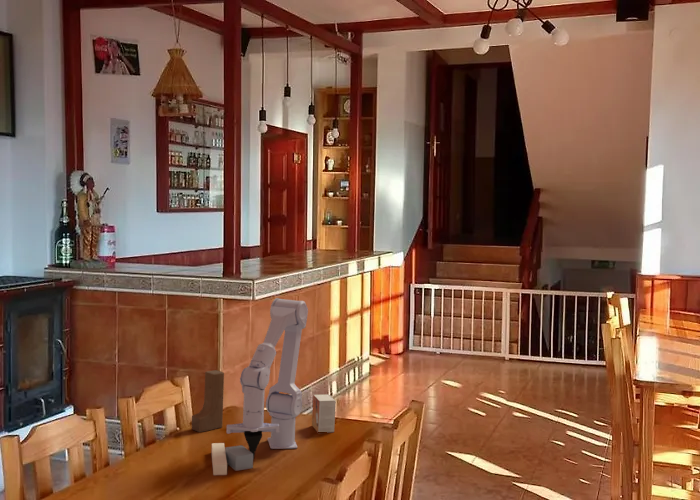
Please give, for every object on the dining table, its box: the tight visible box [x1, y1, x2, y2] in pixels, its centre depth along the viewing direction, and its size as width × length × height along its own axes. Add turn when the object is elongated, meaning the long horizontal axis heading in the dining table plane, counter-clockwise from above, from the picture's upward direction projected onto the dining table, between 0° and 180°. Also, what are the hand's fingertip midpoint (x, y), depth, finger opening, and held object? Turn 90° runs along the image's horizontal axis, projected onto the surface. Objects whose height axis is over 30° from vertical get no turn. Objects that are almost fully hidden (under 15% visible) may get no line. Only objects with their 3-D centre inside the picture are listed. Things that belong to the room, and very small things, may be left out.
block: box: [225, 444, 254, 471], centre depth 211 cm, size 8×5×4 cm, turn 30°
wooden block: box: [191, 369, 225, 433], centre depth 242 cm, size 9×4×18 cm, turn 136°
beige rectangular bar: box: [211, 442, 228, 476], centre depth 212 cm, size 18×4×3 cm, turn 12°
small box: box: [311, 393, 337, 433], centre depth 247 cm, size 8×6×10 cm
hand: (251, 457), depth 213 cm, fingers closed
